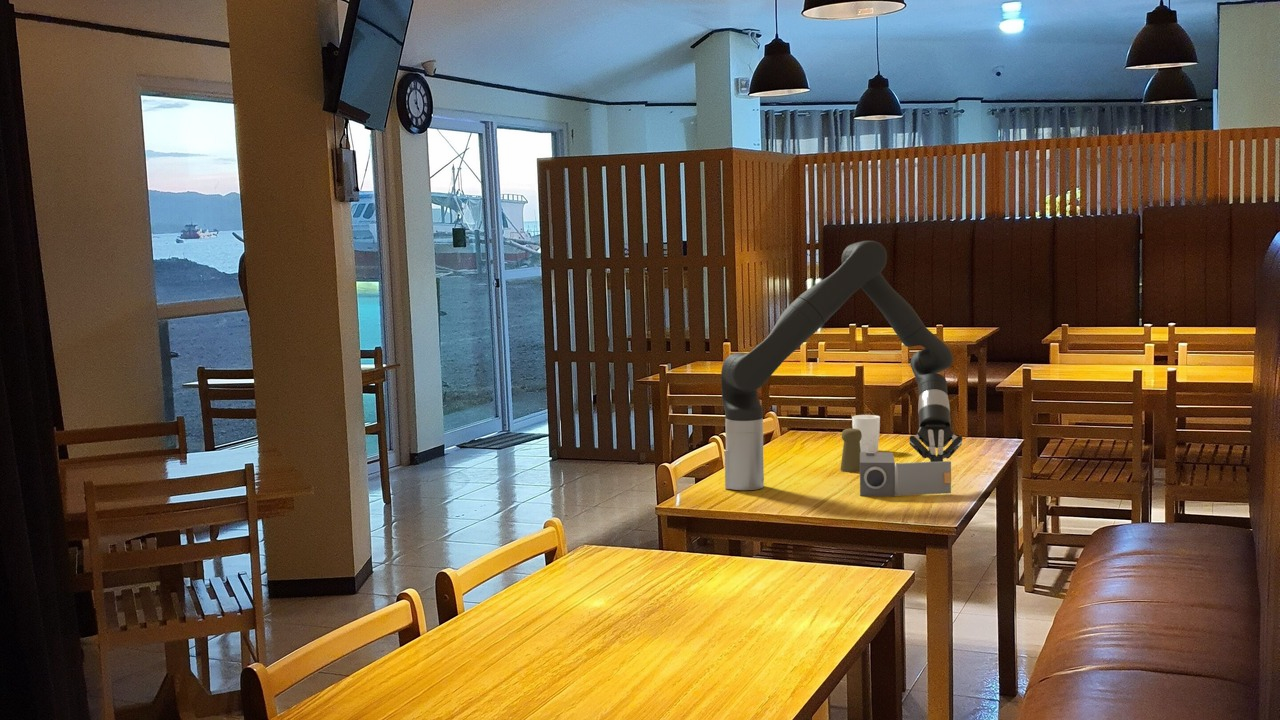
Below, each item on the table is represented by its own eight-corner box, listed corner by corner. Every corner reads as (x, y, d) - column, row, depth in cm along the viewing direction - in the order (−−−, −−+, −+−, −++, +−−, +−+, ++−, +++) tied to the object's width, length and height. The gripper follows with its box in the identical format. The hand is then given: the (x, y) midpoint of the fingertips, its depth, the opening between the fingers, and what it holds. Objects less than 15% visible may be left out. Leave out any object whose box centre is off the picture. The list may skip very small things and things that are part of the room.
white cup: (850, 453, 338) (850, 418, 337) (853, 448, 345) (853, 414, 344) (878, 454, 335) (878, 419, 334) (881, 449, 343) (881, 415, 342)
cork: (856, 473, 308) (856, 431, 307) (836, 470, 312) (835, 429, 311) (867, 469, 313) (867, 428, 312) (846, 467, 317) (846, 426, 316)
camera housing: (860, 496, 280) (860, 460, 279) (859, 483, 295) (859, 449, 294) (894, 497, 278) (894, 461, 278) (892, 484, 293) (892, 450, 292)
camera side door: (894, 494, 279) (894, 463, 279) (949, 492, 281) (949, 461, 280) (896, 496, 278) (896, 464, 277) (951, 493, 279) (952, 462, 278)
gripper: (907, 402, 290) (909, 461, 279) (962, 403, 288) (967, 462, 277) (906, 421, 296) (908, 479, 285) (960, 421, 294) (965, 480, 283)
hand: (937, 470), depth 281 cm, fingers closed
